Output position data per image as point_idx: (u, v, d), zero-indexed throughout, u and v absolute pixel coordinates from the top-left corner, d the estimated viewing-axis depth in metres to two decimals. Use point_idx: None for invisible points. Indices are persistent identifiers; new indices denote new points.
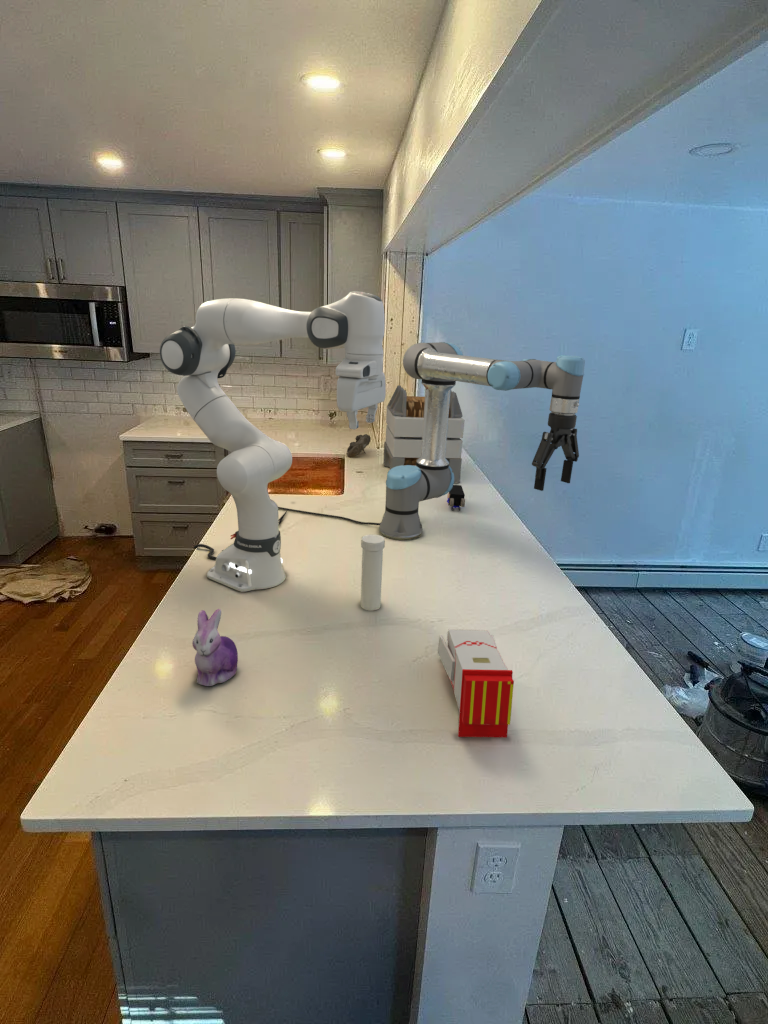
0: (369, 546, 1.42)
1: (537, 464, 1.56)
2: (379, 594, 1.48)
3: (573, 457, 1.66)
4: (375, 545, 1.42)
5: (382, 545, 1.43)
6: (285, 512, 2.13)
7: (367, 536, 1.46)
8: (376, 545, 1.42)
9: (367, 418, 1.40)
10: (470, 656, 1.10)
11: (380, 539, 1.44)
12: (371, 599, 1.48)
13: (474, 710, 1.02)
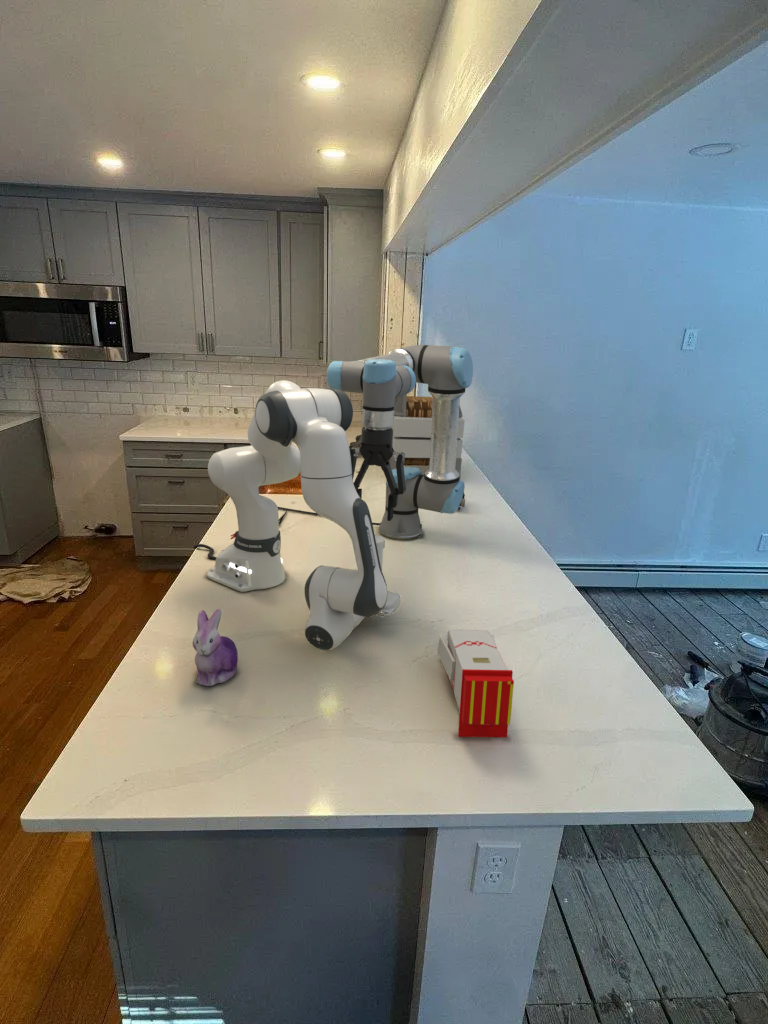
0: None
1: (405, 489, 1.39)
2: None
3: None
4: None
5: (382, 545, 1.43)
6: (285, 512, 2.13)
7: None
8: None
9: None
10: (470, 656, 1.10)
11: (380, 539, 1.44)
12: None
13: (474, 710, 1.02)
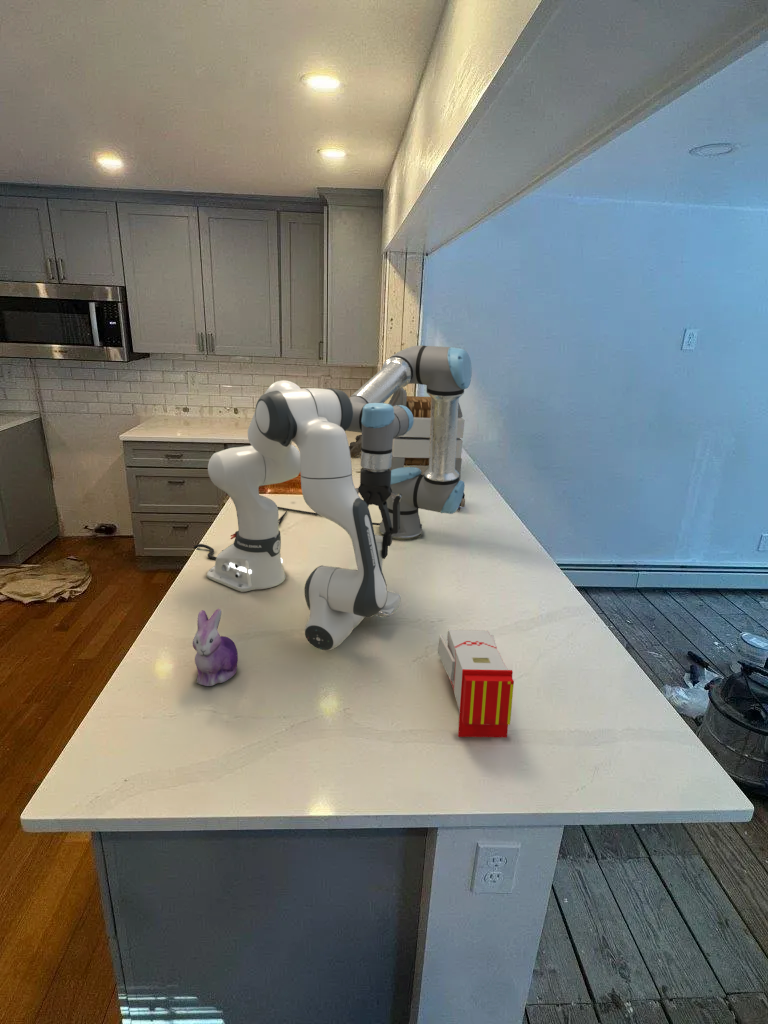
0: None
1: (399, 528, 1.42)
2: None
3: None
4: None
5: None
6: (285, 512, 2.13)
7: None
8: None
9: None
10: (470, 656, 1.10)
11: (380, 539, 1.44)
12: None
13: (474, 710, 1.02)
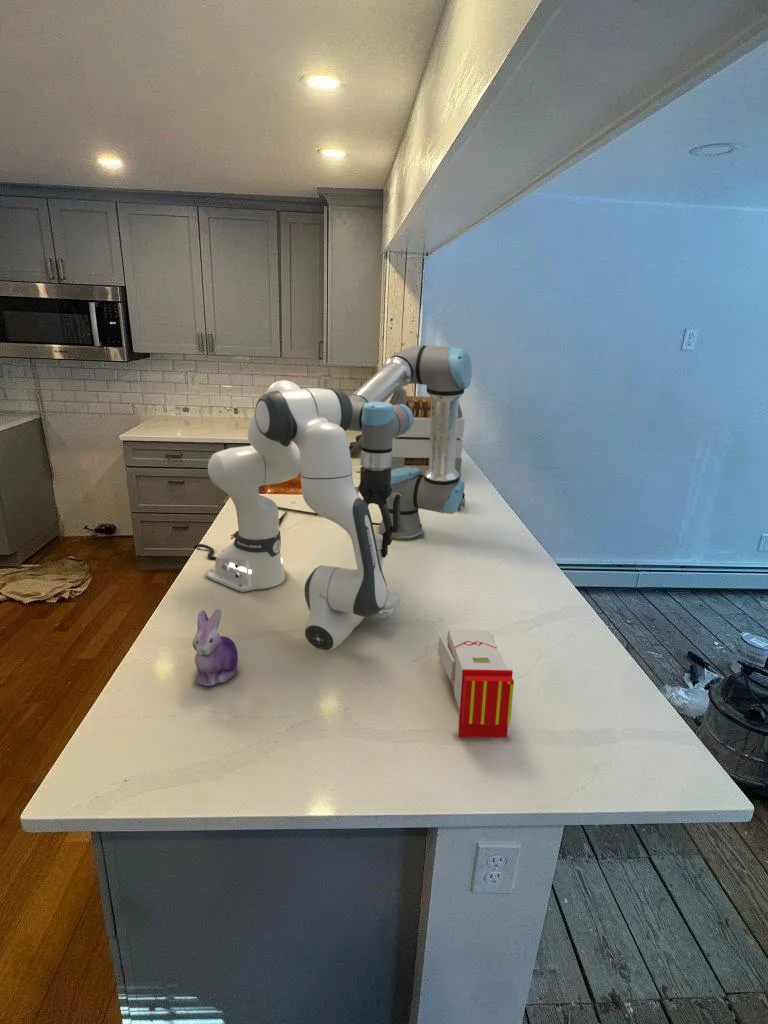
0: None
1: (399, 527, 1.42)
2: None
3: None
4: None
5: None
6: (285, 512, 2.13)
7: None
8: None
9: None
10: (470, 656, 1.10)
11: (375, 535, 1.46)
12: None
13: (474, 710, 1.02)
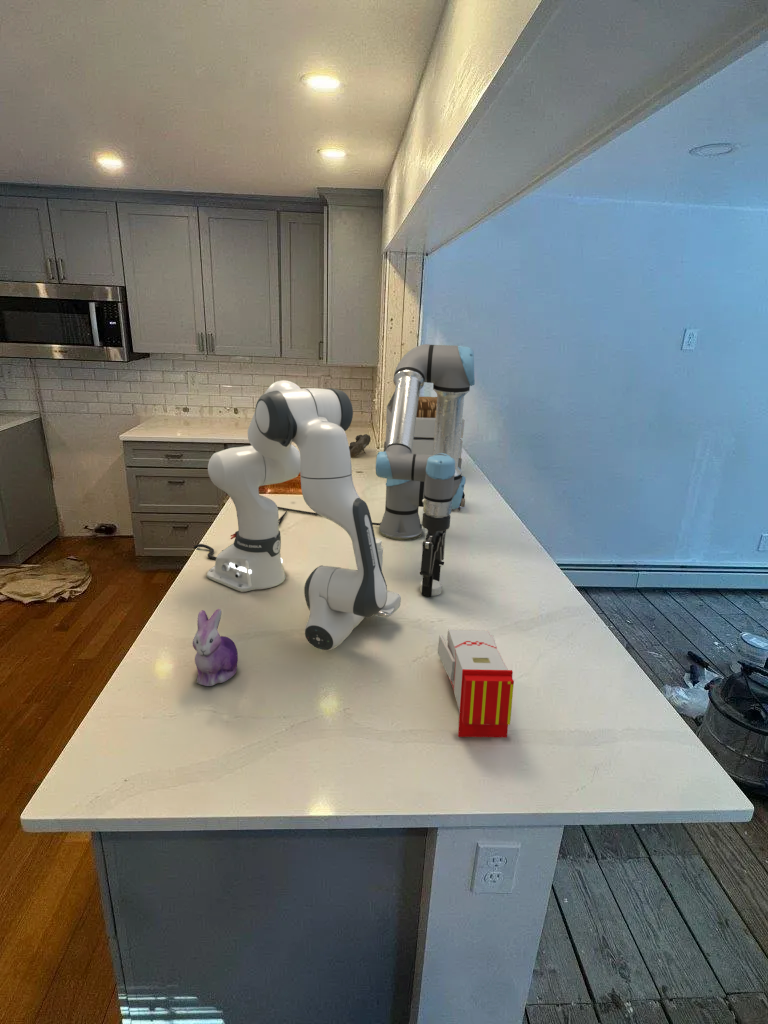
0: None
1: None
2: None
3: None
4: None
5: None
6: (285, 512, 2.13)
7: (435, 586, 1.58)
8: None
9: None
10: (470, 656, 1.10)
11: None
12: None
13: (474, 710, 1.02)
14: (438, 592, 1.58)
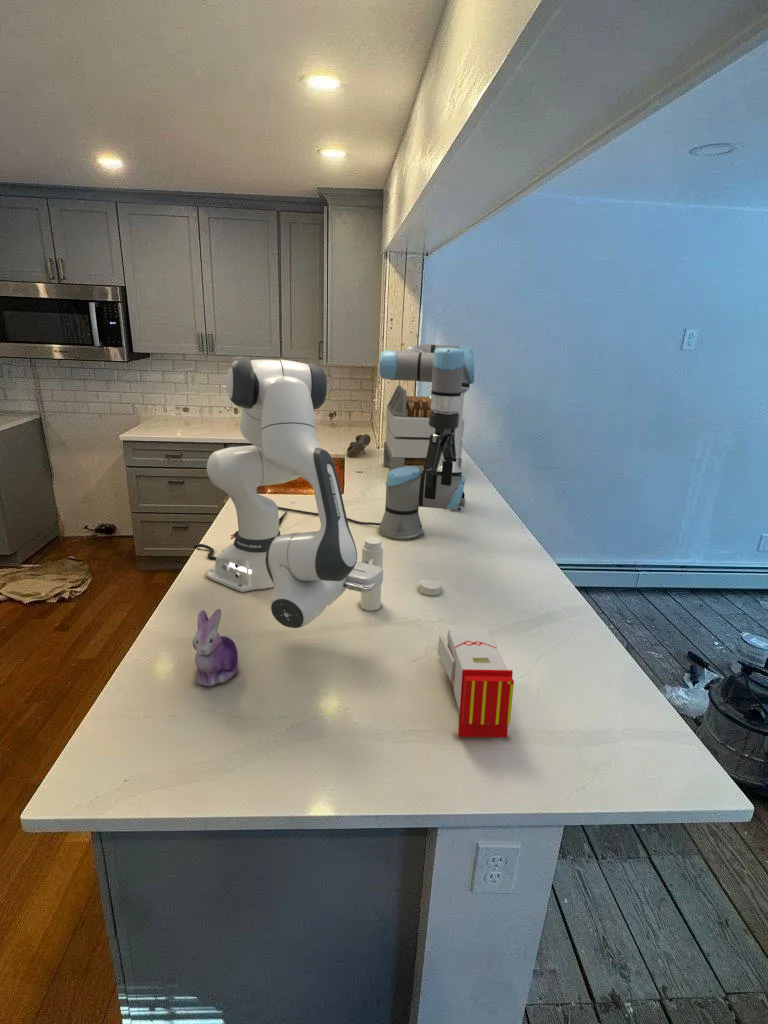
0: None
1: None
2: (379, 594, 1.48)
3: None
4: None
5: None
6: (285, 512, 2.13)
7: (435, 586, 1.58)
8: None
9: None
10: (470, 656, 1.10)
11: (424, 582, 1.60)
12: (371, 599, 1.47)
13: (474, 710, 1.02)
14: (438, 592, 1.58)
